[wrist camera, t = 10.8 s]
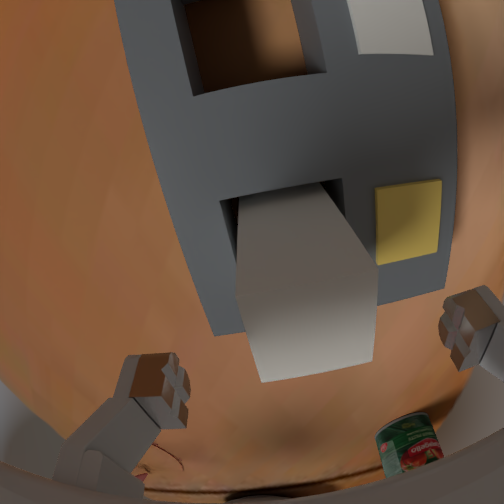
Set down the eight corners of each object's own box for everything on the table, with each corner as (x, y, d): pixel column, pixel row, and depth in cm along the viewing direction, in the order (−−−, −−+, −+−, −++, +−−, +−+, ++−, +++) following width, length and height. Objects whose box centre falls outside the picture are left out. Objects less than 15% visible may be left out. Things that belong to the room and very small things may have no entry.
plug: (239, 183, 17) (235, 296, 8) (310, 170, 17) (378, 269, 8) (253, 246, 19) (261, 382, 10) (318, 234, 19) (372, 361, 10)
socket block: (135, -15, 11) (105, -39, 7) (384, -45, 10) (418, -69, 6) (218, 293, 21) (213, 340, 17) (417, 254, 20) (446, 291, 16)
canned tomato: (374, 446, 36) (390, 511, 26) (374, 425, 32) (394, 501, 22) (424, 428, 35) (445, 489, 25) (432, 404, 31) (459, 475, 21)
